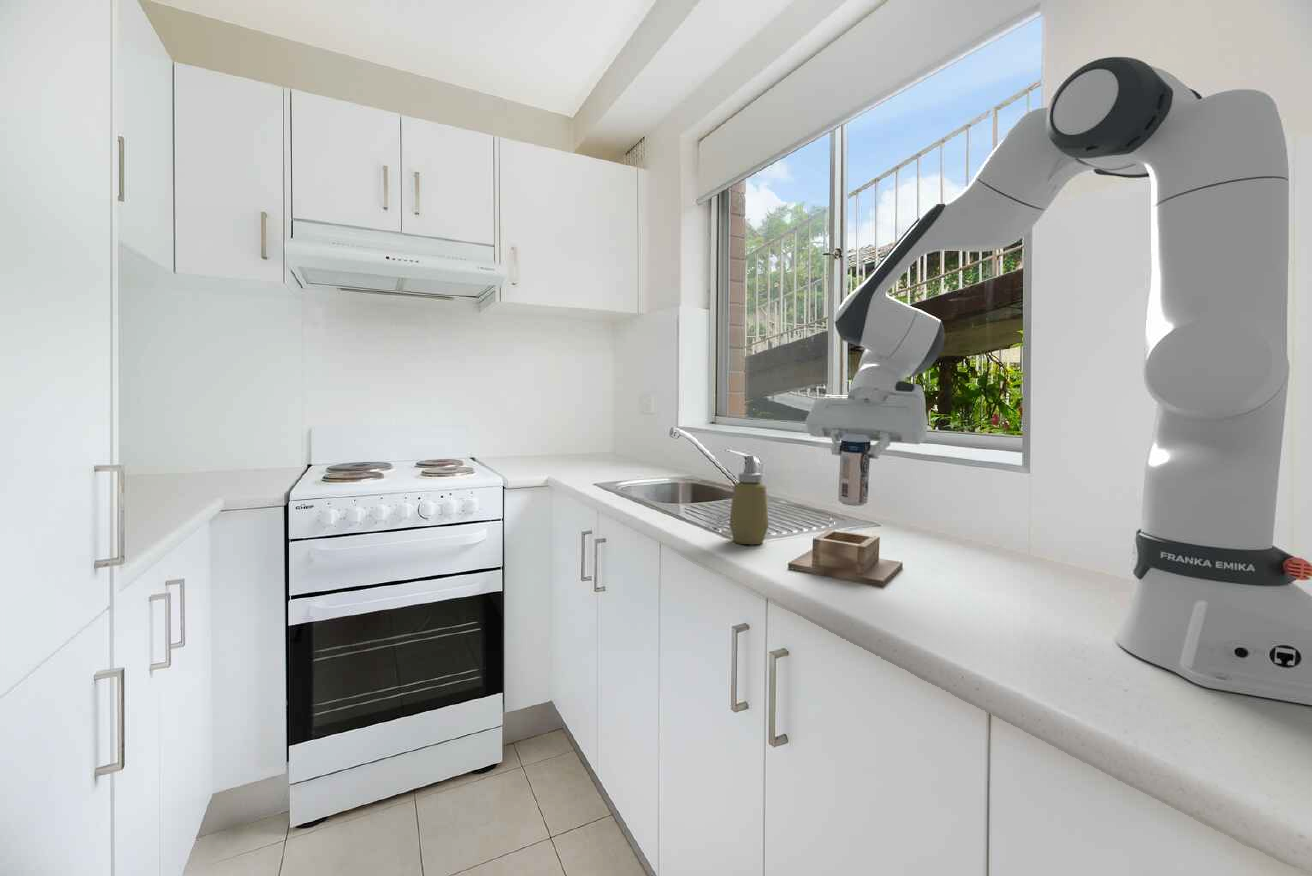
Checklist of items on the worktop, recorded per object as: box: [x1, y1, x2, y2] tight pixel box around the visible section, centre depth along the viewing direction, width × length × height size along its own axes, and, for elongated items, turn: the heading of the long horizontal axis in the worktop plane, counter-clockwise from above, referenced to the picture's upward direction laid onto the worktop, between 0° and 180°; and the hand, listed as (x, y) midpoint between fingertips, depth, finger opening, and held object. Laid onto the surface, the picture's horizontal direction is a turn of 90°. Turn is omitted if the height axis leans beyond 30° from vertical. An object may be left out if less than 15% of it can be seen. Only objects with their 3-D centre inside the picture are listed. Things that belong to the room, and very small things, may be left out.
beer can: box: [838, 433, 872, 507], centre depth 98 cm, size 5×5×12 cm
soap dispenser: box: [729, 455, 769, 546], centre depth 118 cm, size 8×8×18 cm
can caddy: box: [787, 529, 903, 588], centre depth 101 cm, size 16×13×6 cm
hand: (853, 454), depth 97 cm, fingers closed on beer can, 5 cm apart
